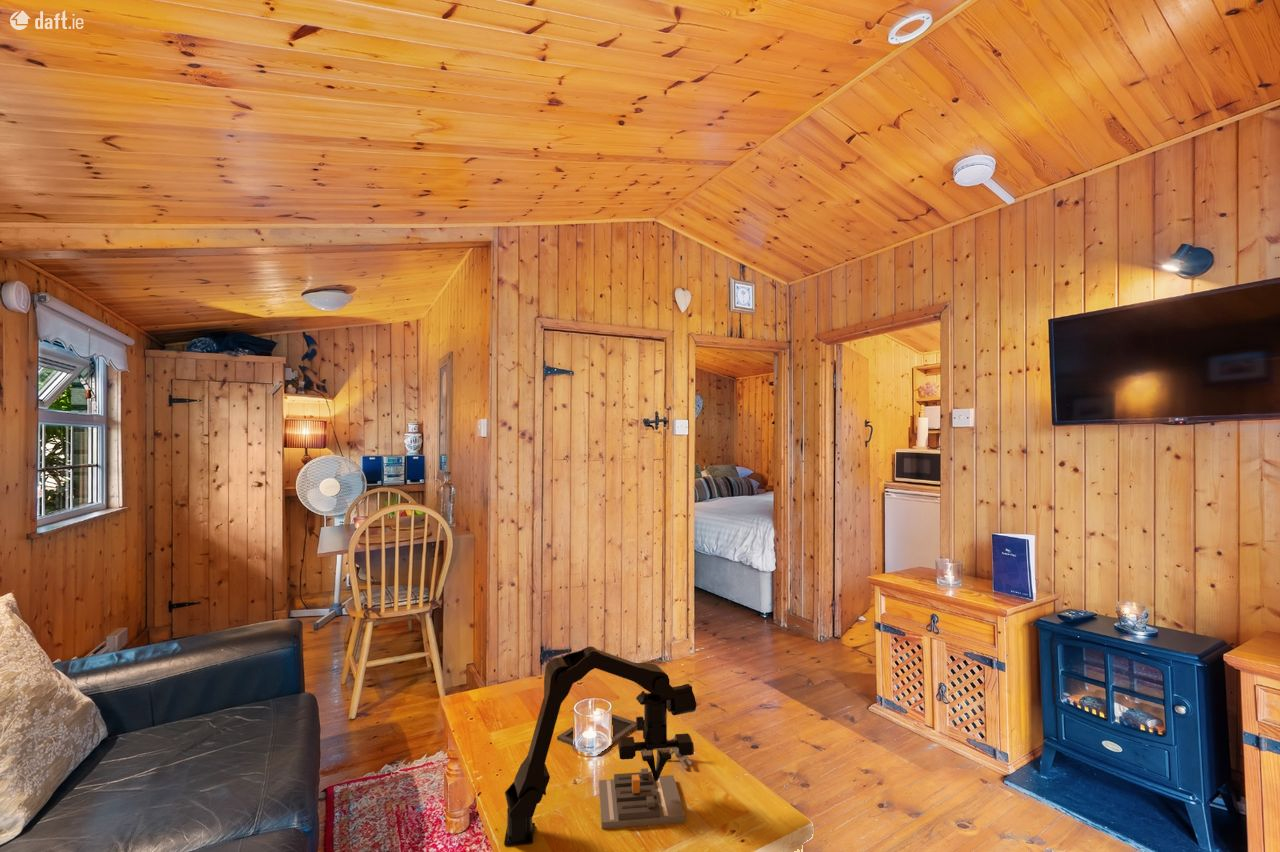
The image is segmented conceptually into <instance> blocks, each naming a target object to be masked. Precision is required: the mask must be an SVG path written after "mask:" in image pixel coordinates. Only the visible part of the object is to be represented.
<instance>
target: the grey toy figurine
mask: <svg viewBox="0 0 1280 852" xmlns="http://www.w3.org/2000/svg"><path fill="white" fill-rule="evenodd" d="M670 740H675V736H674V737H673V738H670ZM670 753H671V756H672V755H673V754H674V755H675V757H676V758H677V759H678V760H679V762H680V763H681V764H682V767H683V768H684V770H686V771H687V770H688V769H689V766H692V765H693V762H692V761H691V760H690V758H689V755H686V756H682V755H681V754H680V753H679V748H677V749H671V751H670ZM685 761H686V762H685ZM688 765H689V766H688Z"/></svg>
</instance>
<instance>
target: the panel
mask: <svg viewBox="0 0 1280 852" xmlns="http://www.w3.org/2000/svg"><path fill="white" fill-rule="evenodd" d="M638 774H639V778H640V793H633V792H632V775H638ZM598 791H599V809H600V821H601V822H600V823H601V824H600V825H601V830H604V829H605V830H606V829H618V828H630V827H631V828H632V827H643V826H644V827H645V826H654V825H655V826H656V825H667V824H679V823H680V824H681V823H686V815H685V811H684V808H683V803H682V801H681V797H680V793H679V789H678V786H677V783H676V779H675V776H674V774H669V775H668V774H667V775H660V776H659V779H658V781H654V778H653V775H652V771H649V768H648V767H645V768H641V769H640V772H628V773H627V772H626V773H614V774H613V778H610V779H599V780H598Z"/></svg>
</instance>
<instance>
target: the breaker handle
mask: <svg viewBox="0 0 1280 852" xmlns="http://www.w3.org/2000/svg"><path fill="white" fill-rule="evenodd" d="M632 792H633V793H640V778H639V774H638V775H632Z"/></svg>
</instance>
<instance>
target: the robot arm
mask: <svg viewBox="0 0 1280 852" xmlns="http://www.w3.org/2000/svg"><path fill="white" fill-rule="evenodd" d="M595 669H596V670H599V671H602V672H605V673H608V674H611V675H614V676H617V677H619V678H622V679H626V680H629V681H631V682H634V683H636V684H637V685H638V686H640V687H641V688H642V689H644V690H646V691H647V692H648V693H647V692H645V691H644V690H642V691H641V692H640V693H639V694H637V696H636V698H635V699H636V701H637V703H639V704H640V705H641V706H643V707H644V708H643V710H644V714H643V715H644V717H643V716H636V717H635V720H636V721H635V722H636V729H635V730H636V731H642V738H643V740H644V741H637V742H635V737H634V736H627V737H626V736H625V737H621V738H620V739H619V740H618V742H617V743H618V748H617V749H618V754H619V759H620V760H624V761H625V760H632V759H634V757H636V752H640V754H641V759H642V761H643V762H646V763H647V764H648V767H649V768H650V772H652V777H653V778H654V781H658V779H659V776H661V774H662V772H663V769H664V768H665V766H666V764H667V762H668V761H670V760H672V755H671V753H670V752H671V750H672V749H677V748H679V753H680V754H681V755H682V756H686V755H687V756H692V755H694V754H695V746H694V742H693V739H692V736H691V735H690V734H689V733H675V734H674V737H675V740H669V739H668V727H667V726H668V724H667V723H668V721H667V717H668V716H667V715H668V713H671V715H672V716H678V715H683V714H689V713H694V712H696V710H697V701H696V696H695V694H694V691H693V686H692V685H690V683H684V684H682V685H677V686H672V685H671V684H670V683H671V682H670V677H669V675H668V674H667V673H666V672H665V671H664V670H663V669H662V668H661V667H660V666H659V665H658V664H656V663H651V662H650V663H649V662H633V661H632V660H628V659H625V658H622V657H620V656H617V655H614V654H611V653H608V652H605V651H603V650H599V649H598V648H596V647H594V646H587V647H585V648H583V649H581V650H577V651H572V652H570V653H567V654H565V655H563V656H561V657H554V658H552V659H550V660H549V661H548V662H547V663H546V666H545V670H544V678H543V679H544V680H543V699H542V702H541V707H540V710H539V713H538V715H537V717H538V718H537V721H536V723H535V724H536V725H535V727H534V731H533V734H532V739H531V742H530V745H529V749H528V753H527V756H526V757H525V759H524V760H523V761H522V763H521V764H520V766H519V768H518V770H517V773H516V775H515V777H514V781H512V783H511V784H510V785H509V787H508V788H507V789H506V790H505V792H504V796H505V800H506V804H507V809H506V811H507V815H506V816H507V817H506V819H507V821H506V822H507V823H506V831H505V836H504V841H503V844H504V846H515V845H516V846H517V845H528V844H532V843H534V839H535V828H536V823H535V822H533V817H534V815H535V811H536V809H537V805H538V804H540V802H541V801H542V800H543V796H546V795H547V787H548V784H549V782H550V779H551V775H550V773H549V771H548V768H547V765H546V761H547V756H548V753H549V750H550V746H551V741H552V738H553V735H554V730H555V728H556V725H557V720H558V716H559V713H560V709H561V706H562V703H563V702H564V700H565V699H566V698H567V696H569V693H570V692H571V689H572V686H573V685H574V684H575V683H577V682H579V681H581V680H582V679H583V678H584V677H586V675H588V673H590V672H591V671H593V670H595ZM667 711H668V712H667ZM654 751H656V761H655V756H654Z"/></svg>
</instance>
